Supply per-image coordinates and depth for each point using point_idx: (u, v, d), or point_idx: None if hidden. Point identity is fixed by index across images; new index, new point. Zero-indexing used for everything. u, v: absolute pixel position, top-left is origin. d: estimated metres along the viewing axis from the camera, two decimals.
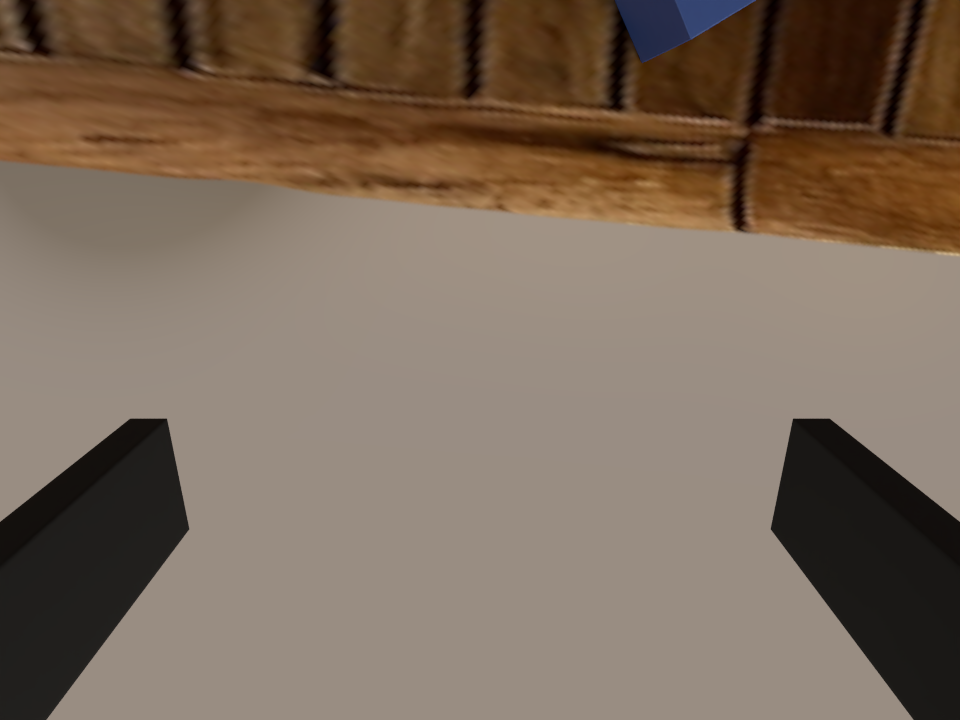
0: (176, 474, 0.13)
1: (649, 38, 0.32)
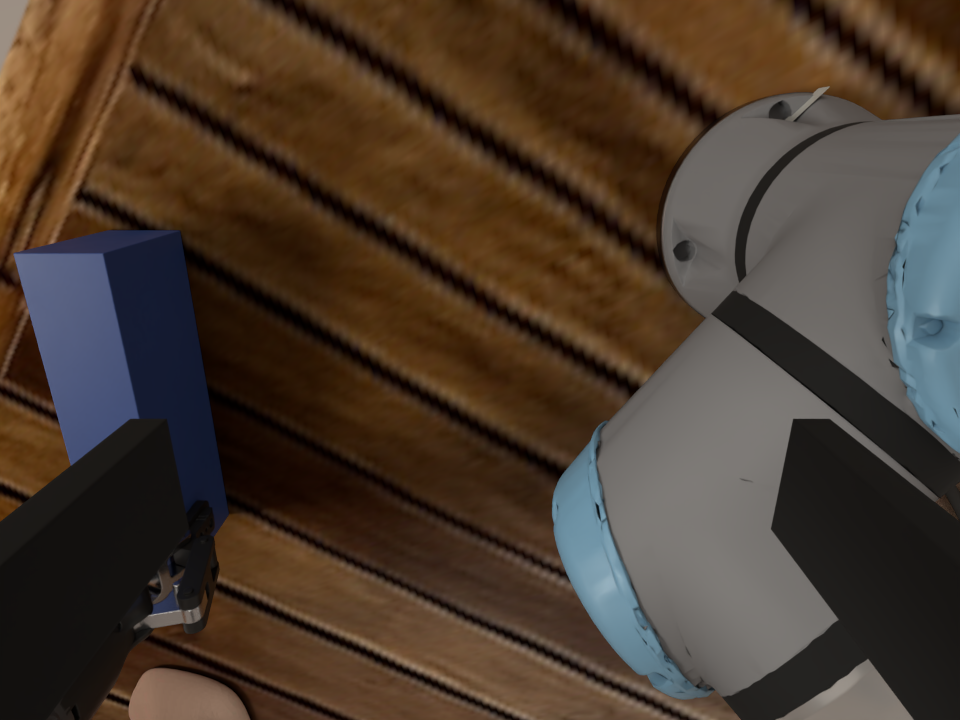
0: (175, 474, 0.13)
1: (93, 237, 0.37)
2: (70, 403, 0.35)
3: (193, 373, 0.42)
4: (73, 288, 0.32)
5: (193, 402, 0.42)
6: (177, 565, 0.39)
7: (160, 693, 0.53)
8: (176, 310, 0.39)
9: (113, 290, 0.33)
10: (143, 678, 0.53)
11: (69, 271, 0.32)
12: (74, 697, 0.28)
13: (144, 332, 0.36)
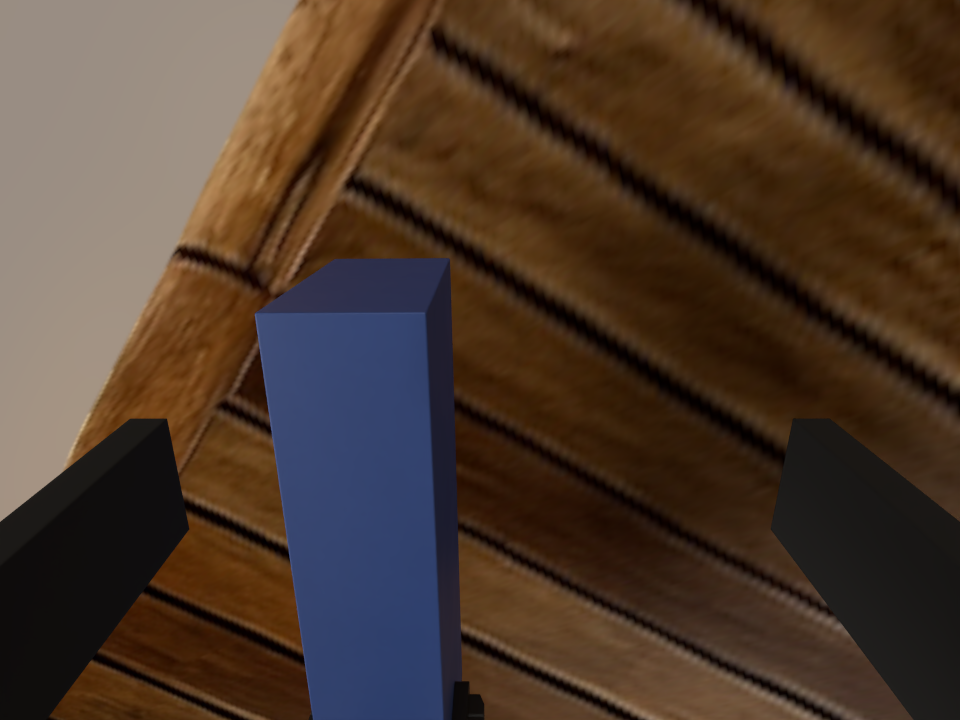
0: (175, 475, 0.13)
1: (337, 273, 0.22)
2: (321, 572, 0.20)
3: (453, 482, 0.26)
4: (359, 376, 0.17)
5: (453, 528, 0.26)
6: None
7: None
8: (448, 390, 0.24)
9: (430, 379, 0.17)
10: None
11: (355, 347, 0.17)
12: None
13: (440, 441, 0.20)
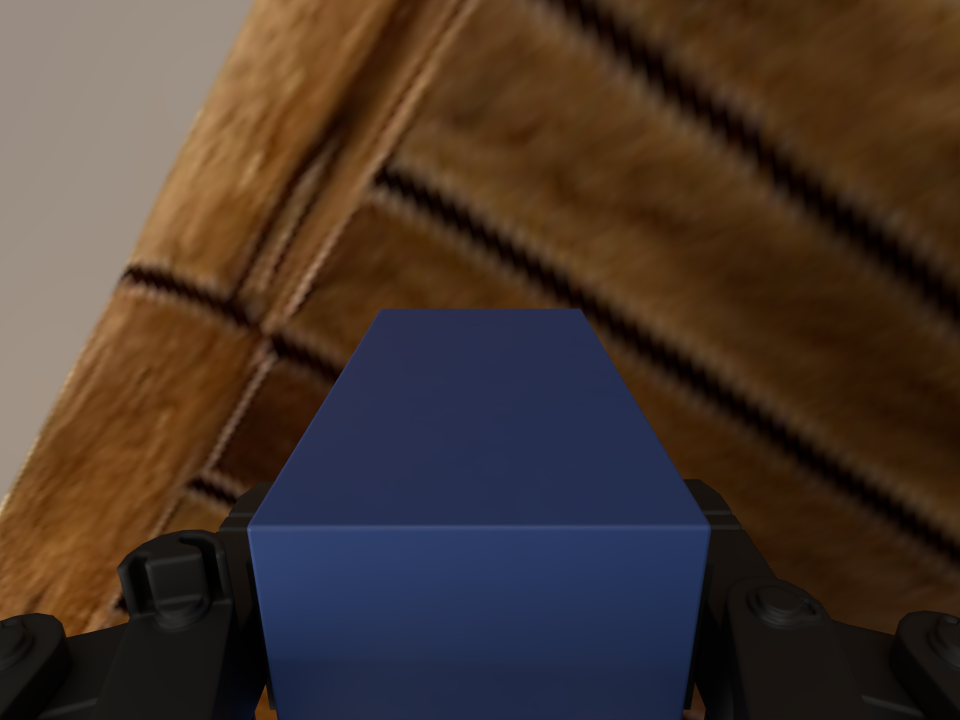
0: None
1: (402, 352, 0.11)
2: None
3: None
4: (513, 668, 0.07)
5: None
6: None
7: None
8: None
9: (684, 665, 0.07)
10: None
11: (512, 605, 0.06)
12: None
13: None
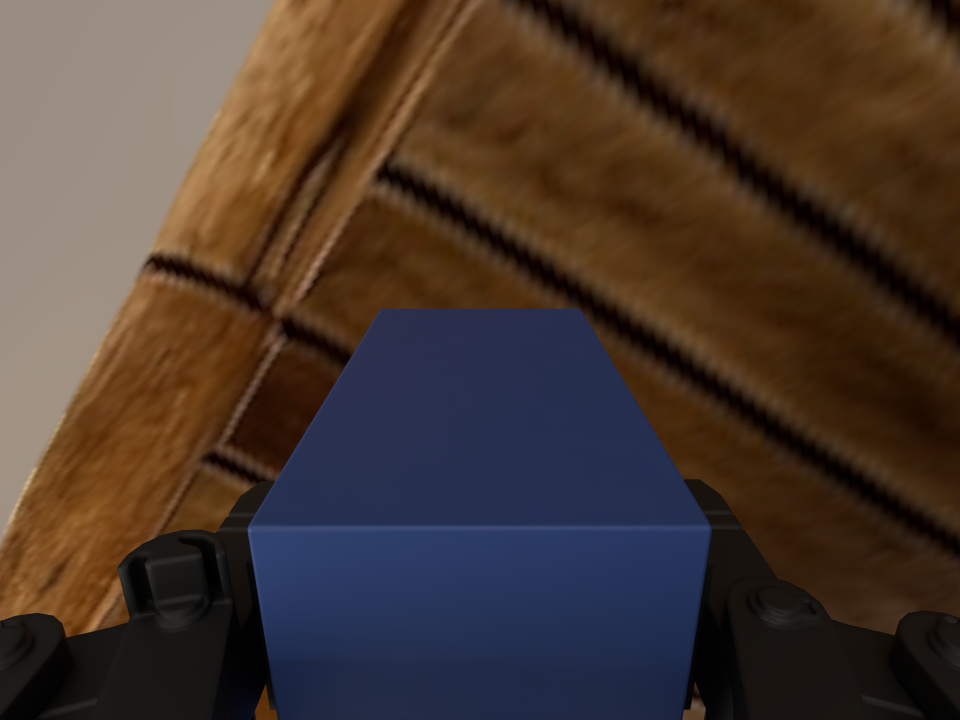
0: None
1: (402, 352, 0.11)
2: None
3: None
4: (514, 668, 0.07)
5: None
6: None
7: None
8: None
9: (685, 665, 0.07)
10: None
11: (513, 606, 0.06)
12: None
13: None
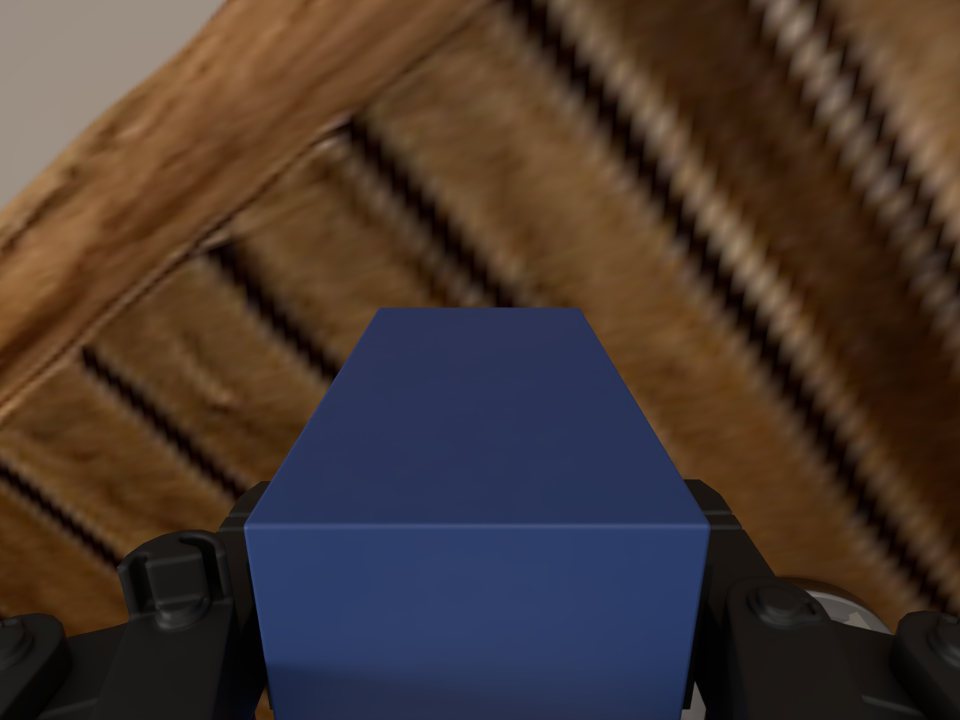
0: None
1: (400, 350, 0.11)
2: None
3: None
4: (512, 667, 0.07)
5: None
6: None
7: None
8: None
9: (684, 665, 0.07)
10: None
11: (511, 605, 0.06)
12: None
13: None
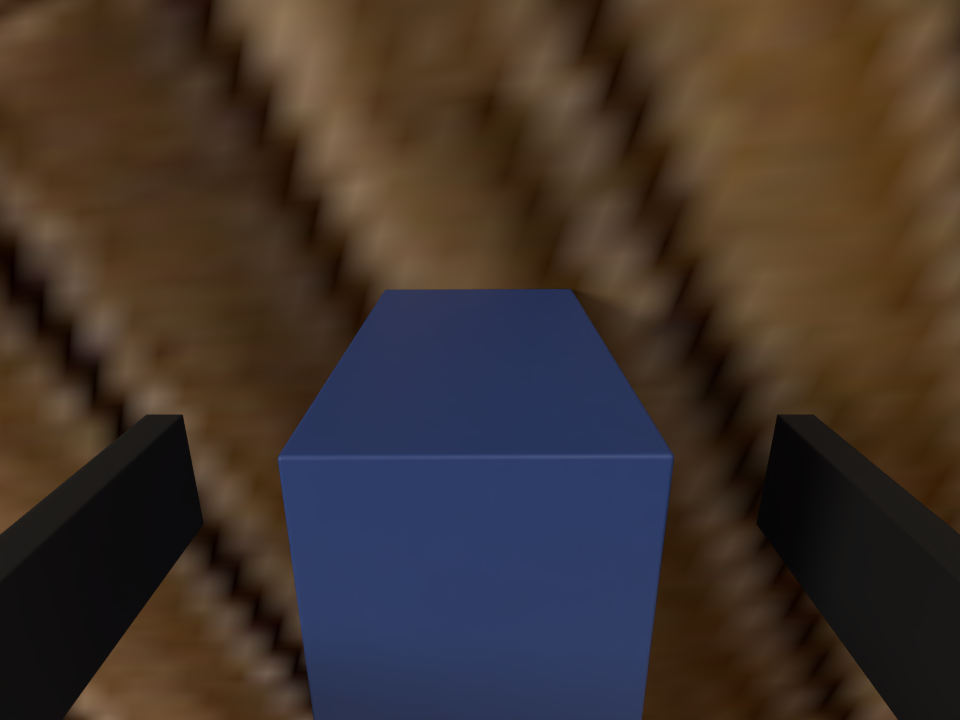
0: (190, 470, 0.13)
1: (407, 325, 0.12)
2: None
3: None
4: (506, 584, 0.08)
5: None
6: None
7: None
8: None
9: (655, 583, 0.08)
10: None
11: (505, 526, 0.08)
12: None
13: None
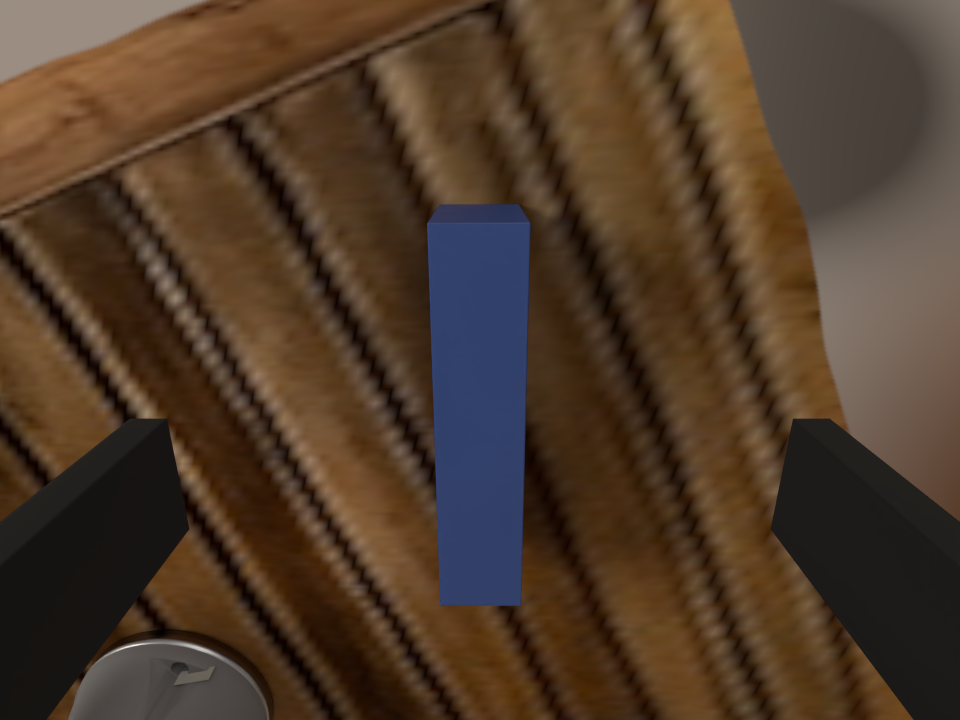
0: (175, 474, 0.13)
1: (452, 210, 0.33)
2: (452, 395, 0.31)
3: None
4: (487, 263, 0.28)
5: None
6: None
7: None
8: None
9: None
10: None
11: (486, 244, 0.28)
12: None
13: None
